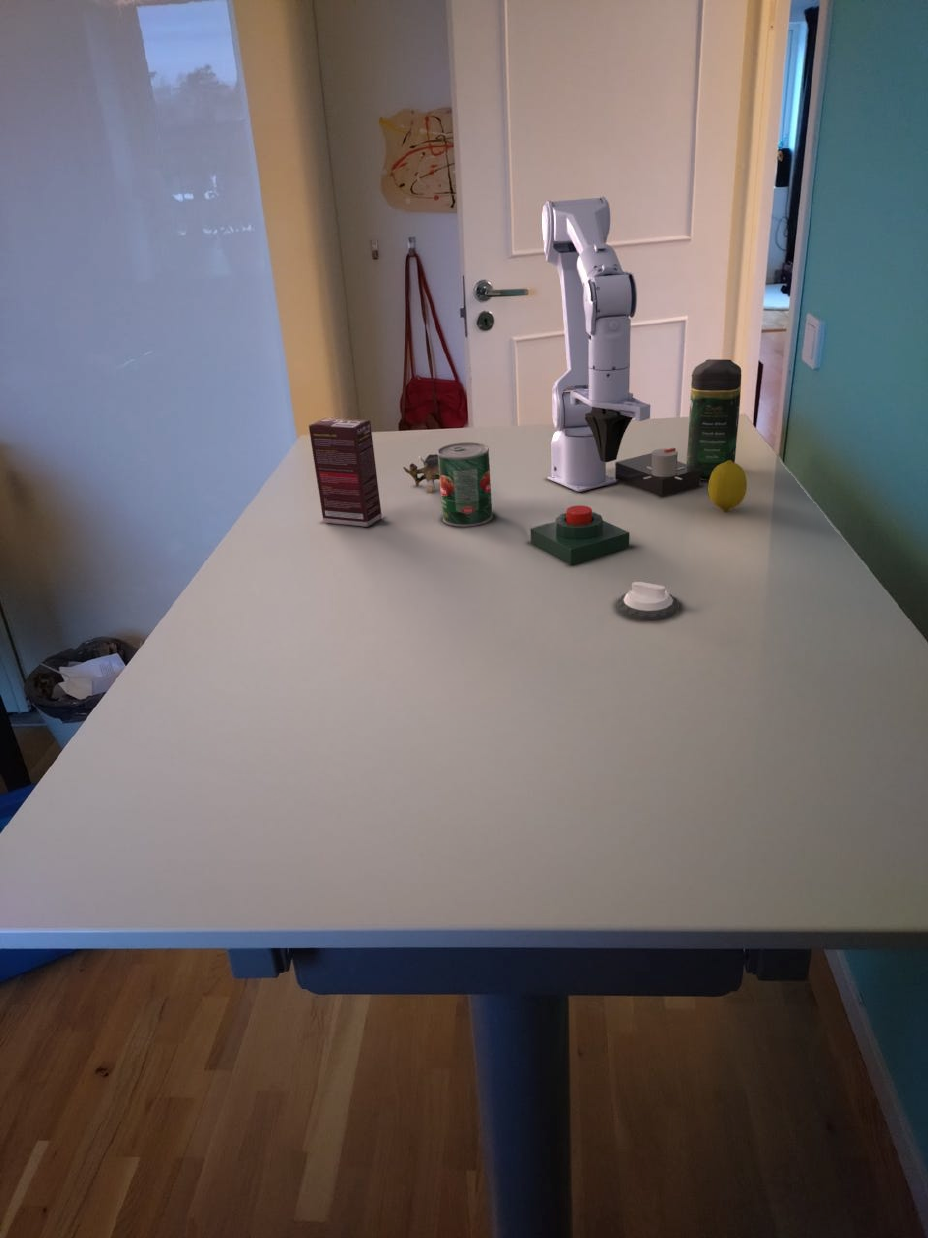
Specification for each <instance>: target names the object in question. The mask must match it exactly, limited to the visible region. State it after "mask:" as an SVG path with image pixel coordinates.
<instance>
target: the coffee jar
mask: <svg viewBox="0 0 928 1238" xmlns="http://www.w3.org/2000/svg"><path fill="white" fill-rule="evenodd" d="M690 384H691V385H690V399H689V417H688V419H689V421H688V439H687V451H686V453H687V454H686V464H687V465H690V466H693V467H696V468H699V469H701V476H700V480H702V481H709V479H710V476H711V474H712V472H713V470H714V469H715V468H716V467H717V466H718V465H720V464H722V463H725V462H726V461H727V460H731V461H732V462H733V463H735V462H736V451H737V440H738V431H739V430H738V429H739V420H740V409H741V394H742V393H741V392H742V368H741V367H740V365H738V364H737V363H735V362H734V361H732V359H726V358H725V359H723V358H722V359H718V358H717V359H716V358H715V359H714V358H713V359H711V358H710V359H706V360H705V361H703V362H702V363H699V364H698V365H696V366H695V367H694V369H693V370H692V374H691V383H690Z"/></svg>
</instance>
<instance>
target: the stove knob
mask: <svg viewBox="0 0 928 1238" xmlns="http://www.w3.org/2000/svg"><path fill="white" fill-rule="evenodd" d="M617 602H618V603H617V610H618V612H619V613H620V614H621V615H623V616H625V617H627V618H628V619H629V618H630V619H633V620H638V621H643V622H644V621H645V622H655V621H662V620H667V619H670V618H671V617H673V616H675V615H676V614H677V613H678V612H679V609H680V607H679V602H678V599H677V598H676V597H675V596H673V595H672V594H671V593H669V592H668V591H667V590H666V587H665V586H664V585H659V584H655V583H648V582H642V581H633V582H632V583H631V589H630V590H628V592H627V593H624V594H623V595H621V596H620V598H619V599H618V601H617Z"/></svg>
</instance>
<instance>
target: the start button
mask: <svg viewBox="0 0 928 1238" xmlns="http://www.w3.org/2000/svg"><path fill="white" fill-rule="evenodd" d="M592 512H593V508H591V507H590V506H588V505H581V504H580V505H579V504H578V505H573V506H568V507H567V508H566V510H565V513H566V522H567V523H569V524H574V525H581V524H587V523H591V522H592Z"/></svg>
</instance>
